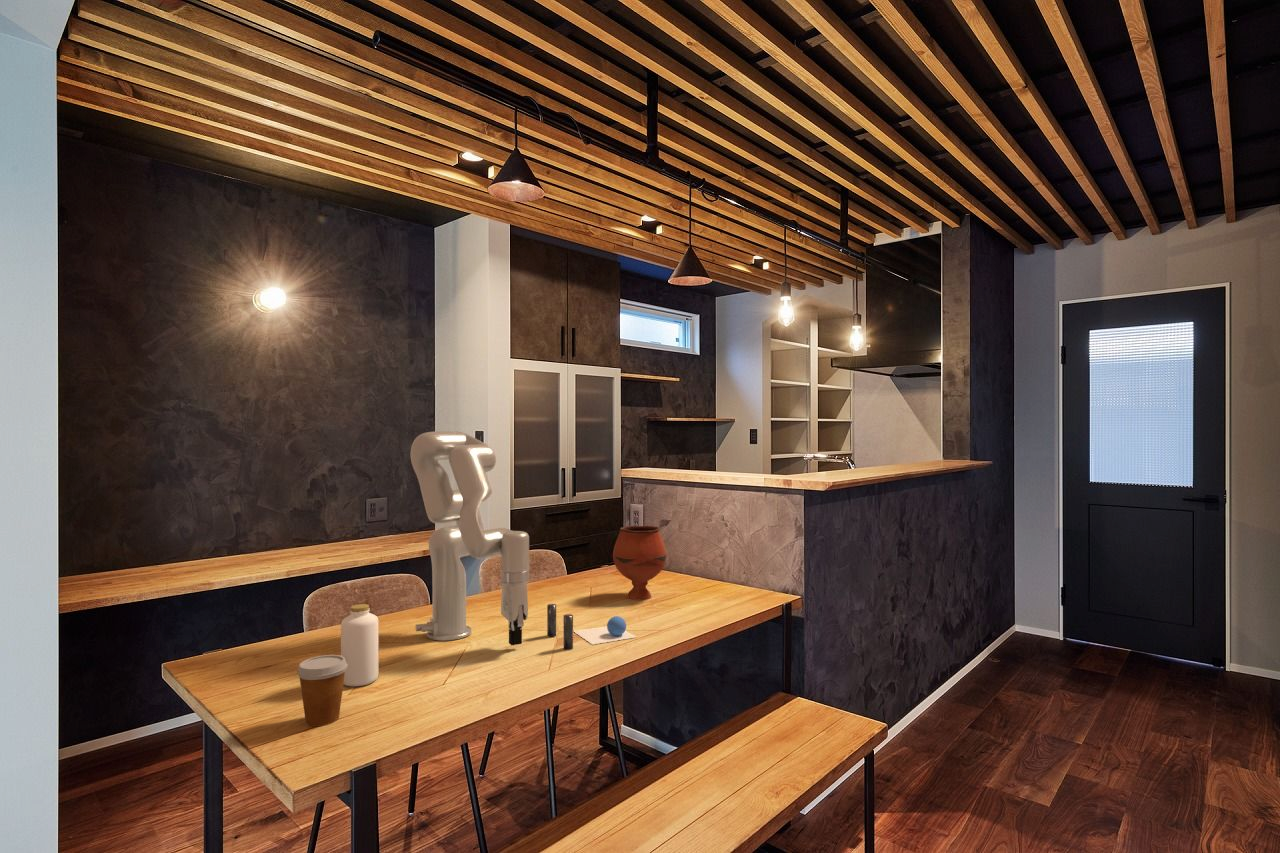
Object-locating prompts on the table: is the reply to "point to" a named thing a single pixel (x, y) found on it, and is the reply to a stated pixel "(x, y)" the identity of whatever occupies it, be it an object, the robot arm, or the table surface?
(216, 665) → the table surface
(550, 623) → the post
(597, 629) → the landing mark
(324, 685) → the disposable coffee cup
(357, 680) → the potion bottle
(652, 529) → the goblet
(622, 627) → the ball
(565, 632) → the post
